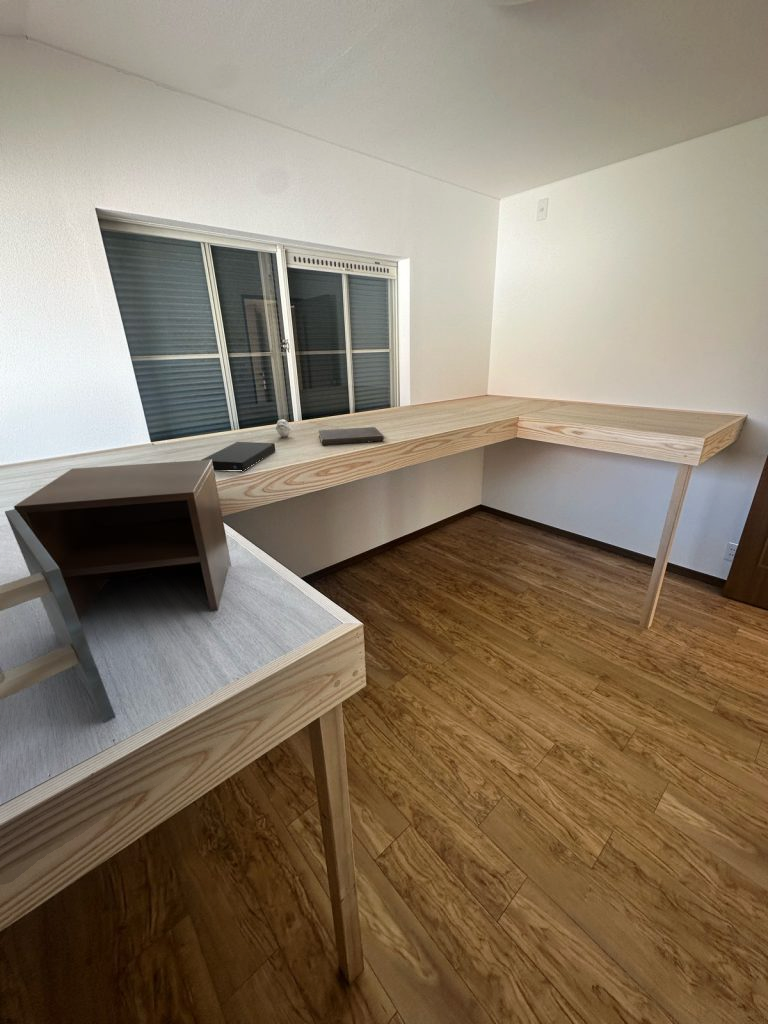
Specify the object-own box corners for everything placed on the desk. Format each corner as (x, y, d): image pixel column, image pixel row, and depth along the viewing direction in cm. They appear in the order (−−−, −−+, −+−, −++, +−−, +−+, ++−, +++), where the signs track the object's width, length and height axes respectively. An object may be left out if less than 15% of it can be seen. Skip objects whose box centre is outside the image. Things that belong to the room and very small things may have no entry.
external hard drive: (275, 451, 145) (274, 443, 144) (243, 472, 124) (242, 462, 123) (237, 450, 147) (236, 441, 146) (200, 470, 126) (198, 460, 125)
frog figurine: (274, 438, 162) (272, 421, 159) (279, 434, 168) (277, 417, 166) (289, 438, 162) (288, 421, 159) (294, 434, 168) (292, 417, 165)
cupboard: (219, 619, 61) (193, 492, 53) (66, 639, 57) (13, 506, 49) (231, 567, 74) (212, 459, 66) (108, 581, 70) (71, 468, 62)
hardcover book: (318, 435, 166) (318, 430, 165) (375, 432, 170) (375, 426, 169) (322, 445, 151) (321, 439, 151) (383, 441, 156) (383, 435, 155)
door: (27, 780, 39) (-66, 608, 31) (-7, 673, 51) (-80, 530, 43) (119, 726, 44) (59, 567, 36) (68, 640, 57) (15, 508, 49)
